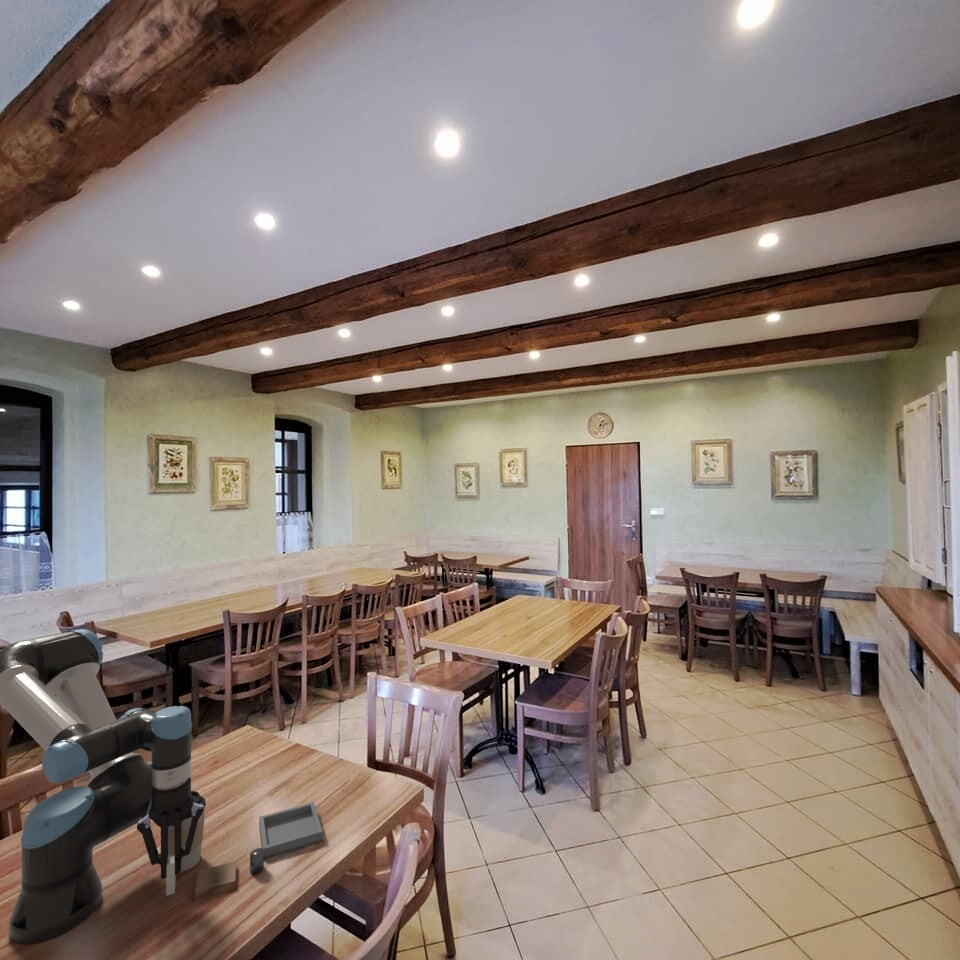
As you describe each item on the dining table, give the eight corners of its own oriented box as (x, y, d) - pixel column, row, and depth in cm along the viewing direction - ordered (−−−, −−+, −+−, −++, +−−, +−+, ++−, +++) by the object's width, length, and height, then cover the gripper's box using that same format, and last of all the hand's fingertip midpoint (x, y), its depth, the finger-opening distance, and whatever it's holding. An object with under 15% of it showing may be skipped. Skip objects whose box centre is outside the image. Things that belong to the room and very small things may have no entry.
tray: (263, 859, 124) (263, 849, 124) (259, 826, 136) (259, 816, 136) (322, 841, 130) (322, 831, 130) (313, 811, 142) (313, 802, 142)
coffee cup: (186, 878, 118) (186, 812, 118) (152, 873, 119) (153, 808, 120) (214, 851, 127) (214, 790, 127) (182, 846, 128) (183, 786, 129)
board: (194, 901, 112) (194, 892, 112) (198, 879, 118) (198, 871, 118) (235, 889, 115) (235, 880, 115) (236, 869, 121) (236, 860, 121)
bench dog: (250, 876, 118) (250, 858, 118) (249, 867, 121) (249, 850, 121) (264, 871, 120) (264, 854, 120) (263, 863, 122) (263, 846, 122)
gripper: (133, 798, 107) (132, 913, 106) (204, 781, 113) (204, 891, 112) (139, 780, 113) (138, 889, 113) (205, 766, 119) (205, 869, 119)
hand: (171, 890), depth 112 cm, fingers closed
